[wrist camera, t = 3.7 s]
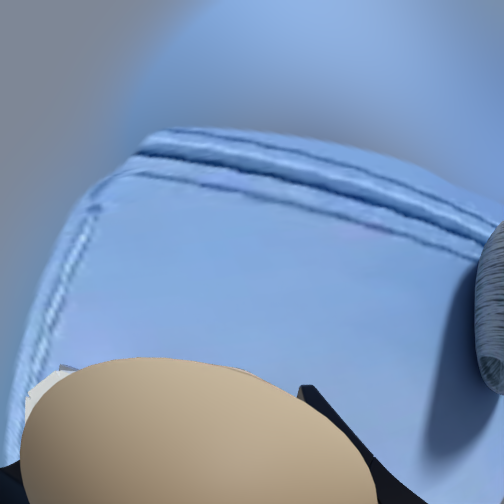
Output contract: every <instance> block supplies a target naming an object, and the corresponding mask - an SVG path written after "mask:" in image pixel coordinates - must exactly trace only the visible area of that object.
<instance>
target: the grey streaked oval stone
mask: <svg viewBox="0 0 504 504" xmlns="http://www.w3.org/2000/svg"><path fill="white" fill-rule="evenodd" d="M475 347H476V354H477V360H478V365H479V369H480V373H481V376H482V378H483V381H484V382H485V383H486V385H487V386H488V387H489V388H490V389H491V390H492V391H494V392H496V393H498V394H500V395H504V221H503V222H502V223H501V224H499V225H498V226H497V228H496V229H495V231H494V232H493V233H492V234H491V236H490V238H489V239H488V241H487V243H486V244H485V246H484V249H483V251H482V254H481V257H480V260H479V264H478V269H477V277H476V284H475Z"/></svg>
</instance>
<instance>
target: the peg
mask: <svg viewBox="0 0 504 504" xmlns="http://www.w3.org/2000/svg"><path fill="white" fill-rule="evenodd" d="M20 467H21V474H22V480H23V485H24V488H25V491H26V494H27V497H28V500H29V503H30V504H378V502H377V495H376V488H375V484H374V481H373V478H372V476H371V473H370V470H369V468H368V466H367V464H366V463H365V461H364V459H363V457H362V456H361V454H360V452H359V451H358V449H357V448H356V447H355V446H354V445H353V443H352V442H351V441H350V440H349V438H348V437H347V436H346V435H345V434H344V433H343V432H342V431H341V430H340V429H339V428H338V427H336V426H335V425H334V424H333V423H332V422H331V421H330V420H329V419H328V418H327V417H325V416H324V415H322V414H321V413H319V412H318V411H317V410H315V409H314V408H312V407H311V406H309V405H308V404H307V403H305V402H304V401H302V400H300V399H298V398H296V397H294V396H292V395H291V394H289V393H287V392H285V391H283V390H282V389H280V388H278V387H276V386H274V385H272V384H270V383H268V382H266V381H264V380H263V379H261V378H259V377H257V376H255V375H253V374H252V373H250V372H248V371H245V370H243V369H239V368H234V367H227V366H220V365H213V364H207V363H201V362H196V361H188V360H179V359H171V358H141V357H137V358H128V359H118V360H111V361H107V362H103V363H99V364H95V365H91V366H88V367H86V368H83V369H81V370H78V371H76V372H73V373H71V374H70V375H68V376H67V377H65V378H63V379H62V380H60V381H58V382H57V383H56V384H54V385H53V386H52V387H51V388H50V389H49V390H48V391H47V392H45V393H44V394H43V396H42V397H41V398H40V399H39V401H38V402H37V403H36V405H35V406H34V407H33V409H32V411H31V413H30V415H29V417H28V419H27V421H26V424H25V427H24V431H23V434H22V439H21V447H20Z"/></svg>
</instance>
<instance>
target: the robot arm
mask: <svg viewBox="0 0 504 504" xmlns="http://www.w3.org/2000/svg"><path fill="white" fill-rule="evenodd" d="M297 398H298V399H300V400H302V401H304V402H305V403H307V404H308V405H309V406H311V407H312V408H314V409H315V410H317V411H318V412H319V413H321V414H322V415H324V416H325V417H327V418H328V419H329V420H330V421H331V422H332V423H333V424H334V425H335V426H336V427H338V428H339V429H340V430H341V431H342V432H343V433H344V434H345V435H346V436H347V437H348V438H349V440H350V441H351V442H352V443H353V445H354V446H355V447H356V448H357V449H358V451H359V452H360V454H361V456H362V457H363V459H364V461H365V463H366V464H367V466H368V468H369V470H370V473H371V476H372V478H373V481H374V484H375V488H376V495H377V502H378V504H428V503H426V502H425V501H424V500H422V499H421V498H420V497H418V496H417V495H416V494H415V493H413V492H412V491H411V490H409V489H408V488H407V487H406V486H404V485H403V484H402V483H401V482H400V481H399V480H397V479H396V478H395V477H394V476H393V475H392V474H391V473H390V472H389V471H388V470H387V469H386V468H385V467H384V466H383V465H382V464H381V463H380V462H379V461H378V460H377V458H376V457H374V455H373V454H372V453H371V452H370V451H369V450H368V449H367V447H366V446H365V445H364V444H363V443H362V442H361V441H360V439H359V438H358V437H357V436H356V435H355V434H354V433H353V431H352V430H351V429H350V428H349V427H348V426H347V424H346V423H345V422H344V421H343V420H342V419H341V417H340V416H339V415H338V414H337V413H336V412H335V410H334V409H333V408H332V407H331V406H330V405H329V403H328V402H327V401H326V400H325V399H324V397H323V396H322V395H321V394H320V393H319V391H318V390H317V389H316V388H315V387H314V386H313V385H301V386H300V387H299V391H298V395H297ZM0 504H30V503H29V500H28V497H27V494H26V491H25V488H24V485H23V480H22V474H21V467H20V460H18V461H17V462H15V463H13V464H11V465H9V466H6V467H2V468H0Z"/></svg>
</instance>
